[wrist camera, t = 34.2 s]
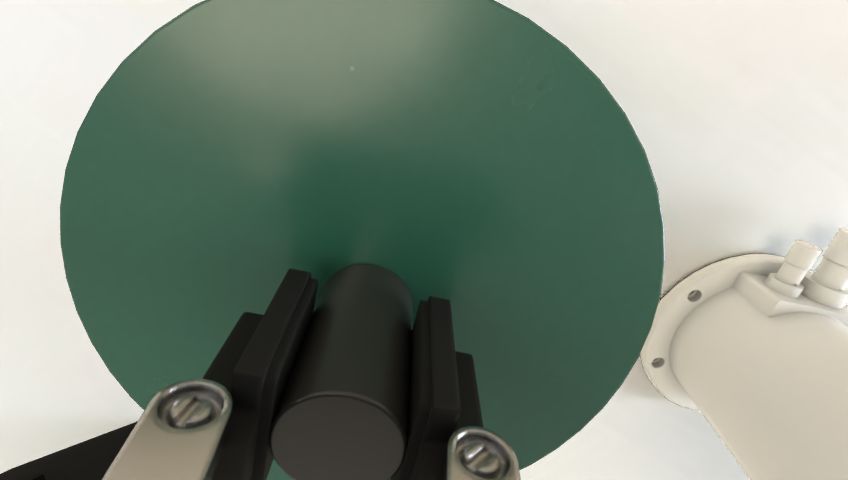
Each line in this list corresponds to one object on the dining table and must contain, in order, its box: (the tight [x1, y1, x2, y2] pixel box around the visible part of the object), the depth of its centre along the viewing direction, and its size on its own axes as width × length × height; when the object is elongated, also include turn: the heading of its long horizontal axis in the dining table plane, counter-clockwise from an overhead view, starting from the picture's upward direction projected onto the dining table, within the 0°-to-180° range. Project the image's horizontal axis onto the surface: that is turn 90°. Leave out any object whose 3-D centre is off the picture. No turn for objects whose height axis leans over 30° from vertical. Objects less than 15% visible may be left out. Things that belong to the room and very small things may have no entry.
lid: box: [60, 0, 665, 480], centre depth 12 cm, size 17×17×6 cm
